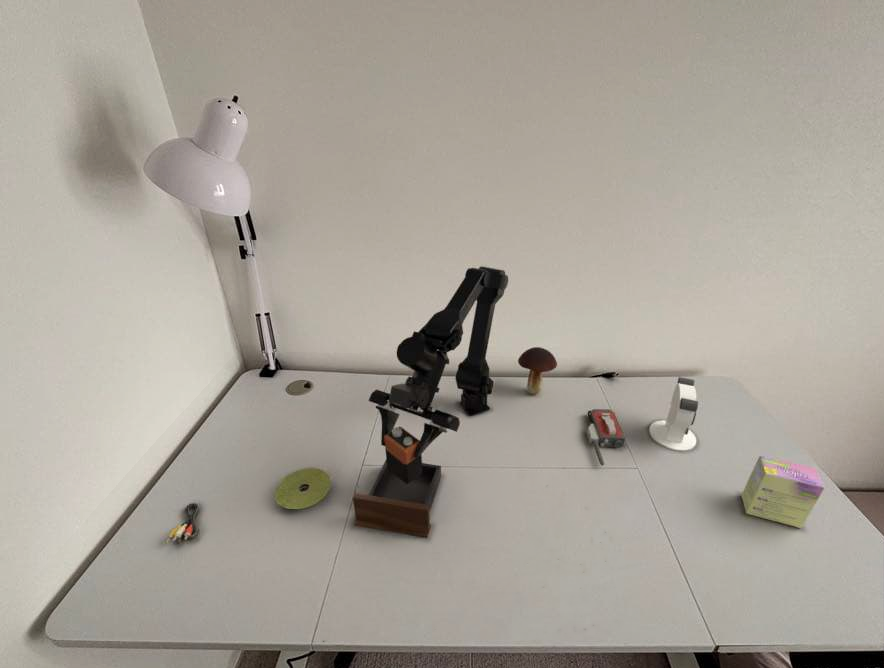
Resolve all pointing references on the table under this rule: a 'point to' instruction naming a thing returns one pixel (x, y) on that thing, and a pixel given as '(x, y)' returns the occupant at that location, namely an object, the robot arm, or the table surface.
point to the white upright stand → (678, 419)
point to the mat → (303, 488)
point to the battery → (402, 454)
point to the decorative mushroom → (537, 366)
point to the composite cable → (186, 526)
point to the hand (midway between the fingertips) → (399, 451)
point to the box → (782, 491)
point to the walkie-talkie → (604, 430)
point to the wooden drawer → (399, 502)
